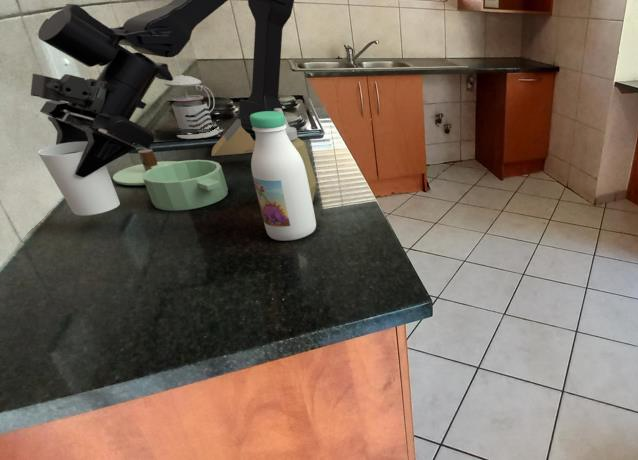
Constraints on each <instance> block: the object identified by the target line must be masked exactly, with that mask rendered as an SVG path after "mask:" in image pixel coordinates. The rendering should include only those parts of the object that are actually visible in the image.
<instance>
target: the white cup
mask: <svg viewBox="0 0 638 460" xmlns="http://www.w3.org/2000/svg"><path fill="white" fill-rule="evenodd" d="M87 143H88V142H86V141H84V142H70V143H62V144H57V145H56V144H52V145H49V146H45V147H43V148H40V149H39V150H38V151H37V153H38V155H39V158H40V159H41V161H42V162H43V164H44V166H45V167H46V169H47V171H48V172H49V174H50V176H51V178H52V180H53V181H54V183H55V184H56V187H58V190H59V191H60V193H61V195H62V196H63V198H64V200H65V202H66V204H67V205H68V207H69V208H70V210H71V212H72V213H73V214H74V215H76V216H93V215H98V214H103V213H106V212H109V211H112V210H114V209H116V208H118V207H119V206H120V205H121V202H120V199H119V197H118V194H117V192H116V188H115V186H114V184H113V180H112V178H111V175H110V173H109V170H108V167H107V165H105V166H103V167H101V168H100V169H98V170H96V171H95V172H93V173H91V174H89V175H88V176H86V177H80V176H78V175H76V174H75V172H76V169H77V166H78V164H79V162H80V159H81V157H82V155H83V152H84V150H85V148H86V145H87Z"/></svg>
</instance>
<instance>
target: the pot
mask: <svg viewBox="0 0 638 460" xmlns="http://www.w3.org/2000/svg"><path fill="white" fill-rule="evenodd" d="M142 177H143V180H144V183H145V185H144V186H145V188H146V190H147V193H148V196H149V197H150V201H151V203H152V205H153V207H154V208H156V209H159V210H163V211H173V212H174V211H189V210H194V209H199V208H203V207H207V206H210V205H213V204H215V203H217V202H220V201H221V200H223V199H225V197H227V196H228V194H229V188H228V185H227V181H226V178H225V174H224V171H223V168H222V165H221V164H220V162H217V161H214V160H208V159H188V160H187V159H186V160H180V161H177V162H173V163H168V164H160V165H156V166H153V167H151V169H150V170H147V171H146V172H145V173H144V174H143V175H142Z"/></svg>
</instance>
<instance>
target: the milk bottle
mask: <svg viewBox="0 0 638 460" xmlns="http://www.w3.org/2000/svg"><path fill="white" fill-rule="evenodd" d="M285 118H286V116H285V117H284V114H283V113H281V112H276V111H264V112H257V113H254V114H251V115H250V121H251V125H252V127H253V128H252V129H253V130H254V131H255V134H256V141H255V148H254V152H252V155H251V160H250V167H251V168H250V169H251V175H252V180H253V184H254V188H255V193H256V196H257V201H258V204H259V208H260V212H261V216H262V220H263V224H264V228H265V231H266V234H267V236H269V238H270V239H273V240H275V241H281V242H283V241H284V242H285V241H296V240H299V239H302V238H306V237H307V236H309V235H311V234H313V233H314V232H315V230H316V228H317V220H316V216H315V210H314V205H313V204H314V203H313V201H312V199H311V193H310V188H309V183H308V178H307V174H306V170H305V166H304V163H303V160H302V158H301V156H300V154H299V153H298V151H297V150H296V148H295V147H294V146H293V144H292V143H291V141H290V140H289V138H288V136H287V134H286V130H285V128H286V127H287V126H286V124H285V123H286V122H285Z"/></svg>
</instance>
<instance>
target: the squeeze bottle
mask: <svg viewBox="0 0 638 460" xmlns="http://www.w3.org/2000/svg"><path fill="white" fill-rule="evenodd" d="M274 111H276V112H281V113H283V111H282V109H281V108H275V109H274ZM283 114H284V113H283ZM284 117H285V122H286V123H285V124H286V126H287V127H286V128H285V130H286V134H287V136H288V138H289V140H290V141H291V143H292V144H293V146H294V147H295V148H296V150H297V151H298V153H299V154H300V156H301V158H302V160H303V163H304V166H305V170H306V174H307V178H308V183H309V188H310V193H311V199H312V202H314V199H315V193H316V189H317V179H316V176H315V173H314V169H313V166H312V162H311V160H310V157H309V153H308V150H307V146H306V143H305V141H304V140H302V138H301V139H300V138H299V134H298V135H297V132H298V131H297V128H296V127H294V126H290V125H289V123H288V120H287V118H286V115H285V116H284ZM289 126H290V127H289Z"/></svg>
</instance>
